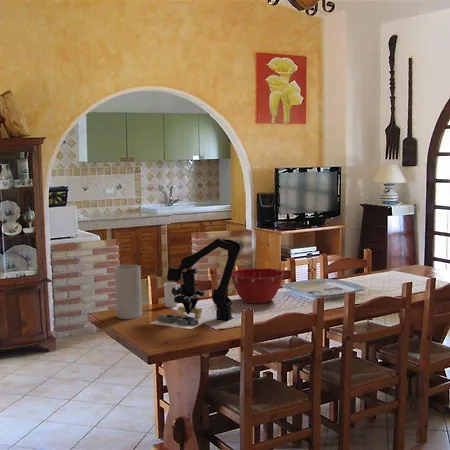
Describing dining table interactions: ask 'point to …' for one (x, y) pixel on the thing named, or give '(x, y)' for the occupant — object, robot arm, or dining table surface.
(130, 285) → the cylinder vase
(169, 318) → the chain ends
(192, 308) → the master link
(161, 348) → the dining table surface
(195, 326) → the mat
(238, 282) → the mixing bowl
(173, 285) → the mug
